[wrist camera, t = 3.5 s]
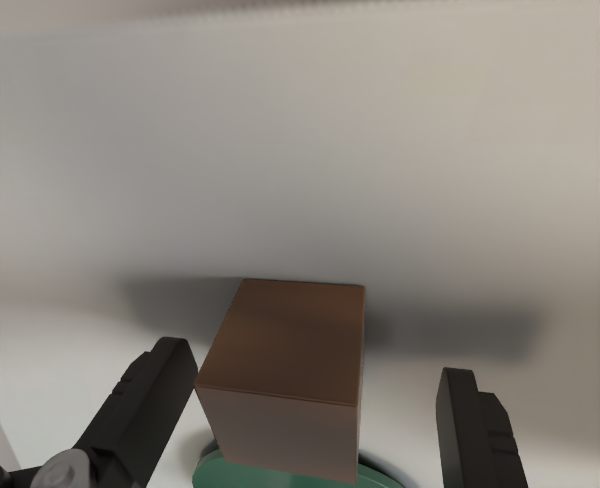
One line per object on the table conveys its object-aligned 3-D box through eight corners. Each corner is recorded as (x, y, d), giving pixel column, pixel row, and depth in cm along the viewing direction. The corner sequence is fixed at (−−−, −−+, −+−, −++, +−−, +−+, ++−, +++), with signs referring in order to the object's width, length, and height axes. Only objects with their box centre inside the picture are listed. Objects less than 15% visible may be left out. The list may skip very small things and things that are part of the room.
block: (260, 355, 14) (224, 462, 11) (242, 278, 12) (191, 384, 9) (363, 366, 13) (356, 485, 10) (365, 285, 11) (358, 406, 8)
